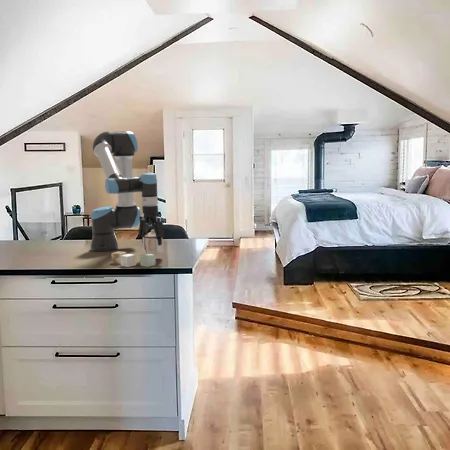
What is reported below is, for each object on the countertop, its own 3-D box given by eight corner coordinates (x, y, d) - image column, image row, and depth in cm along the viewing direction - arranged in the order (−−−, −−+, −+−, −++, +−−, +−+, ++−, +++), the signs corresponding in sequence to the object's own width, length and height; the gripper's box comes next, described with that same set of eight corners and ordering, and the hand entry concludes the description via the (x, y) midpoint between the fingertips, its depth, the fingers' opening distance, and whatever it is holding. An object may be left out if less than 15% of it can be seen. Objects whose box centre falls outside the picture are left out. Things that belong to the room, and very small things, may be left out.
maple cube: (111, 263, 250) (111, 253, 249) (118, 261, 254) (118, 251, 254) (120, 264, 248) (119, 253, 247) (126, 262, 252) (126, 252, 251)
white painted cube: (121, 265, 244) (120, 255, 243) (129, 263, 247) (129, 253, 247) (127, 267, 240) (126, 256, 240) (136, 265, 244) (135, 254, 243)
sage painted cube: (140, 265, 243) (139, 255, 242) (148, 263, 246) (147, 253, 246) (147, 266, 239) (147, 256, 239) (155, 264, 243) (155, 254, 243)
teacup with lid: (150, 250, 262) (149, 228, 260) (166, 251, 259) (165, 228, 257) (138, 255, 251) (137, 231, 249) (155, 256, 248) (154, 232, 246)
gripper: (129, 204, 255) (131, 249, 258) (160, 207, 242) (162, 254, 245) (140, 203, 261) (143, 247, 264) (171, 205, 248) (173, 251, 251)
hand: (152, 250), depth 255 cm, fingers closed on teacup with lid, 8 cm apart
